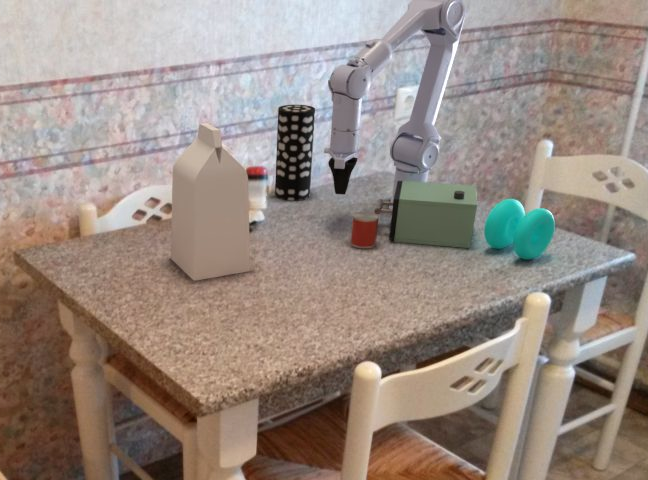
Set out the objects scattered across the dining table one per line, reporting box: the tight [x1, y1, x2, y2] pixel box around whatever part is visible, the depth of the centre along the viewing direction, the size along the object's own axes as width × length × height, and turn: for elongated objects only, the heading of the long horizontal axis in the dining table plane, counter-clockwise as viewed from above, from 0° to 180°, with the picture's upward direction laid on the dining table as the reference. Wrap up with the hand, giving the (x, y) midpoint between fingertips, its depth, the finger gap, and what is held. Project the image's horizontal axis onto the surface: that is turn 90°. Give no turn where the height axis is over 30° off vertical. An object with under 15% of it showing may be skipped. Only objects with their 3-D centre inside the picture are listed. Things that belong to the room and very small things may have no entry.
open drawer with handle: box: [373, 181, 402, 240], centre depth 169 cm, size 13×18×8 cm
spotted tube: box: [274, 104, 316, 201], centre depth 189 cm, size 8×8×20 cm
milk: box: [170, 122, 251, 282], centre depth 150 cm, size 12×12×26 cm
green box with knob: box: [393, 181, 478, 249], centre depth 168 cm, size 13×15×10 cm
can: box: [350, 211, 380, 250], centre depth 164 cm, size 5×5×6 cm
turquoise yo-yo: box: [483, 198, 556, 261], centre depth 159 cm, size 10×10×10 cm
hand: (340, 193), depth 173 cm, fingers closed
